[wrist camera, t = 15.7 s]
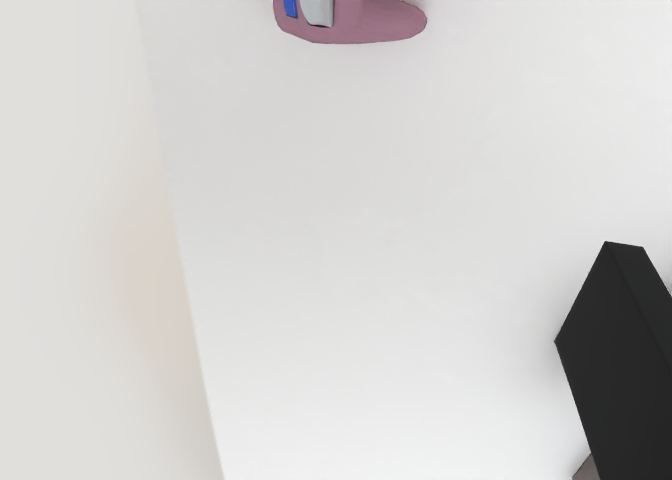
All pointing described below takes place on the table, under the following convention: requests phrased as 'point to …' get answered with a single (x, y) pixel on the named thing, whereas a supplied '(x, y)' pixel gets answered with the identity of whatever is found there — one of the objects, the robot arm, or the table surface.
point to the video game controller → (349, 20)
